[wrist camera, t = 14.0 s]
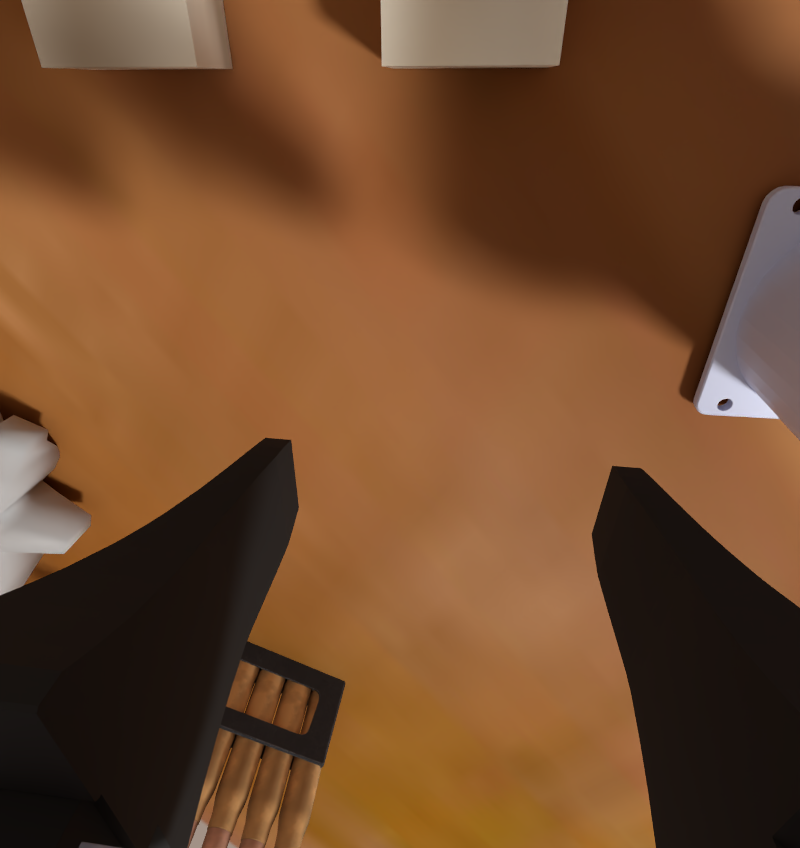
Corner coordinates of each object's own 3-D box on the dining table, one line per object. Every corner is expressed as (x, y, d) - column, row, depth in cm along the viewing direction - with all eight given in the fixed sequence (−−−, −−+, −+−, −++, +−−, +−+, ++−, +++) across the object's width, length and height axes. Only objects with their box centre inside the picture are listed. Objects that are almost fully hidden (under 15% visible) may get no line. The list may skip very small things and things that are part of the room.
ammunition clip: (181, 632, 33) (55, 871, 23) (189, 617, 32) (60, 860, 22) (334, 694, 35) (278, 940, 25) (346, 681, 34) (293, 932, 24)
